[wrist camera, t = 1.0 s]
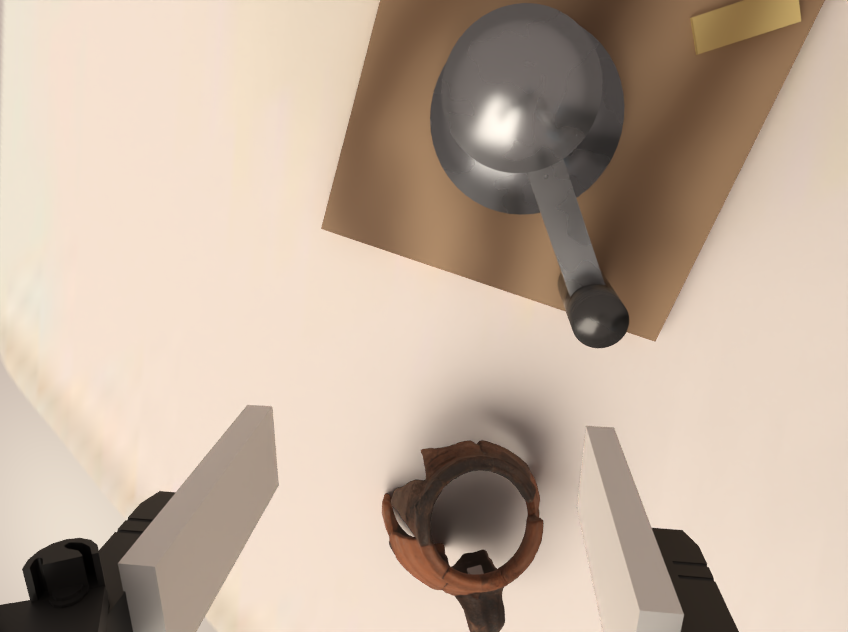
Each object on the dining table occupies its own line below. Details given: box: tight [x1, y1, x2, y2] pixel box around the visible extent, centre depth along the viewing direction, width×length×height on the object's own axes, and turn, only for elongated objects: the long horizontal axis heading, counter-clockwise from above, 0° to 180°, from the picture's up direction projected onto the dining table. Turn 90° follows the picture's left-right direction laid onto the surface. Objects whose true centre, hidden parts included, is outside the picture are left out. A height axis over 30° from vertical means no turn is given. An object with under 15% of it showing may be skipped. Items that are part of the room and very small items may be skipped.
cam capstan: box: [430, 3, 629, 348], centre depth 27 cm, size 14×9×6 cm, turn 22°
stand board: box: [321, 0, 825, 341], centre depth 29 cm, size 20×19×4 cm
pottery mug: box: [382, 440, 543, 632], centre depth 36 cm, size 12×9×8 cm
